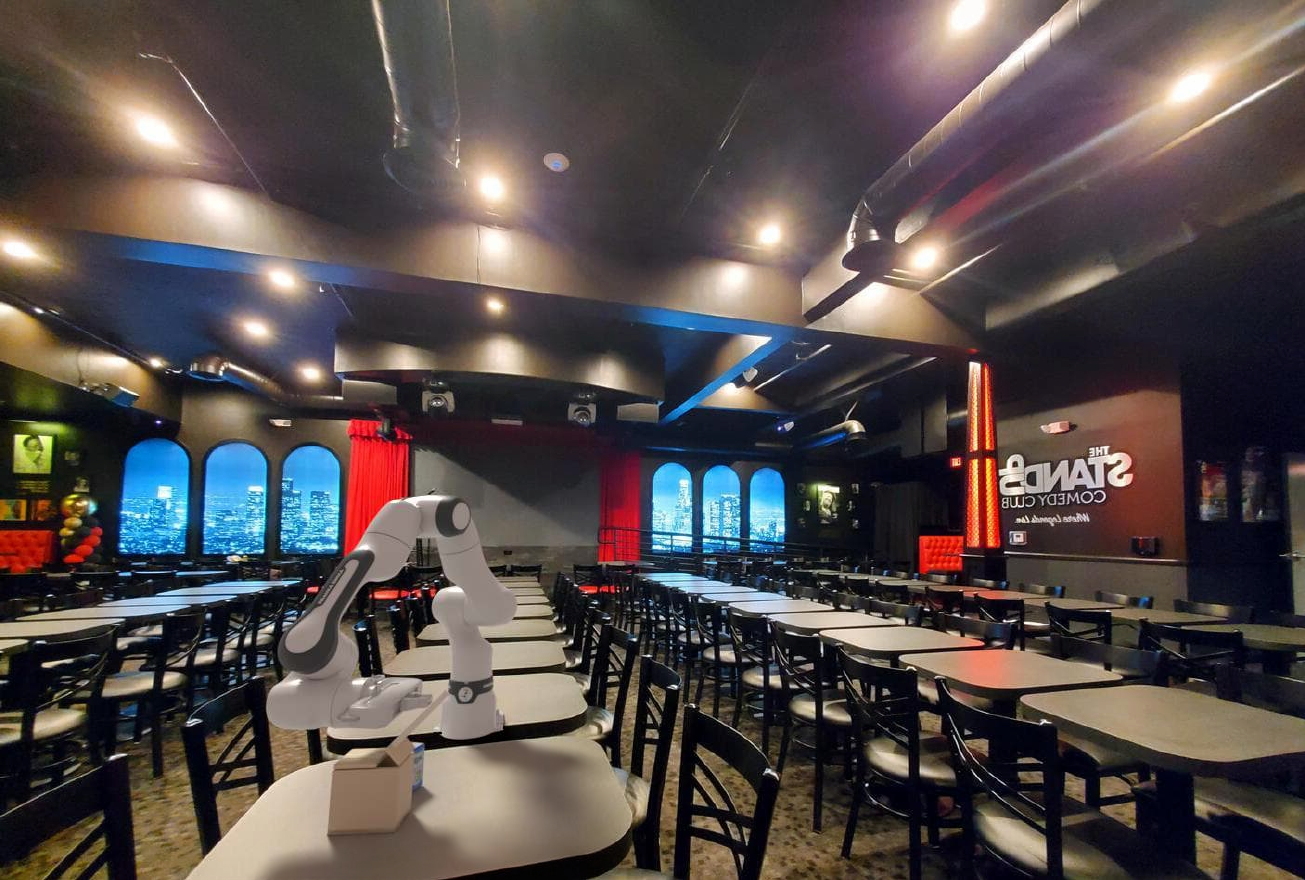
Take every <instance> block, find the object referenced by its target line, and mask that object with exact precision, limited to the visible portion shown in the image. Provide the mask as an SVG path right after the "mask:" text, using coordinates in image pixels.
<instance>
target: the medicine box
mask: <svg viewBox="0 0 1305 880" xmlns="http://www.w3.org/2000/svg"><path fill="white" fill-rule="evenodd" d="M410 742H411V743H412V744H413V745H414V746H415V749H414V750H413V751H412V752H414V765H413V782H412V793H413V792H415V791H416V790H418V789H419V788H420V787H421V786H423V782H424V781H423V779H424V762H425V761H424V760H425V759H424V757H425V743H424V742H417V741H415V742H414V741H410Z"/></svg>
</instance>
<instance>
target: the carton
mask: <svg viewBox="0 0 1305 880" xmlns="http://www.w3.org/2000/svg"><path fill="white" fill-rule="evenodd" d="M386 748H387V747H378V748H352V749H351V750H349V751H348V752H347V753H346V754H345V755H344V756H342V757H341V758H340V759H339V760H338V761H337V762H335V763H334V764H333V768H332V769H333V770H332V773H331V774H332V776H331V784H330V785H331V786H330V798H329V800H330V801H329V810H328V824H327V834H326V835H327V836H343V835H344V836H345V835H362V834H363V835H366V834H386V833H387V834H388V833H396V832H397V830H399V828H400V826H401V825H402V823H404V820H405V819H406V818H407V816H408V815H409V814H410V812H411V810H412V798H413V797H412V796H413V792H412V782H413V765H414V752H411V753H410V754H409V755H408V756H407V758H406V759H405V760H404V761H403V762H402V763H401V764H400V765H399V766H398V765H397V764H396V763H395V761H394V760H393V759H392V758H391V757H390V756H389V755H388V754H387V752H386V751H385V749H386Z"/></svg>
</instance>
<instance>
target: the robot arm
mask: <svg viewBox="0 0 1305 880" xmlns="http://www.w3.org/2000/svg"><path fill="white" fill-rule="evenodd" d="M434 538H435V541H436V545H437V551H438V553H439V554H438V555H439V559H440V561H441V566H442V569H443V573H444V575H445V577H446V579H447V580H449V581H450V582H452V583H453V584H455V585H454V586H448V587H444V588H442V589H440V590H439V591H437V593H436V594H435V596H434V598H433V600H432V603H431V604H432V605H431V612H432V615H433V618H435V620H436V621H438V623H440V625H441V627H443V630H444V631H445V633H446V636H447V639H448V642H449V645H450V678H448V683H447V689H448V690H447V692H448V693H449V694H450V695H449V696H448V697H447V698H446V699H445V700H444V701H443V702H442V703H441V709H440V719H439V724H438V725H436V726H435V727H434V728H433V731H434V730H440V731H441V732H442V734H440V736H442V737H443V738H445V739H450V740H469V739H477V738H480V737H485V736H487V735H490V734H491V733H495V732H500V731H503V730H504V729H503V723H504V711H503V710H502V709H497V694H496V693H495V691H494V683H495V681H494V675H493V674H494V673H493V653H494V651H493V646H492V644H491V643H490V642H489V641H488V640H487V639H485V638H484V637H483V635H482V634H481V631H480V629H479V627H487V628H488V627H489V628H490V627H491V628H492V627H493V628H494V627H499V626H504V625H508V624H510V622H511V621H512V620H513V619H514V617H515V615H516V613H517V611H518V600H517V597H516V595H515V593H514V591H513V590H511V589H510V588H508V587H505V586H504V584H502V583H501V582H500V581H499V579H497V578H496V576H495V575H494V574H493V572H492V571H491V569H490V568H489V566H488V564H487V561H486V559H485V556H484V553H483V549H482V548H483V547H482V545H481V541H480V537H479V534H478V530H477V528H476V525H475V522H474V519H473V518H472V514H471V508H470V505H469V504H468V503H467V501H466V500H465V499H464V498H462V497H461V496H456V495H450V494H449V495H441V494H426V495H421V496H420V495H419V496H413V497H412V496H406V497H401V498H399V499H394V500H390V501H388V502H387V503H385V504H384V506H383V507H381V509H380V510H379V511H378V512H377V514H376V515H375V516H374V517H373V519H372V520H371V522H370V523H369V525H368V527H367V528H366V530H365V531H364V534H363V535H362V537H361V539H360V540H359V542H358V544H357V545H356V547H355V548H354V549H353V550H352V551H350V552H349V553H348V554H346V556H344V557H343V558H342V560H341V561H340V562H339V563H338V565H337V567H336V568H334V570H333V572H332V573H331V574H330V576H329V578H328V579H327V580H326V582H325V583H324V584H323V586H322V588H321V590H319V592H318V594H317V595H316V596H315V598H314V599H313V601H312V602H311V603H310V605H309V606H308V607H307V609H306V610H304V612H303V613H302V614H301V615H300V616H299V617H297V619H296V620H295V621H294V622H293V623H292V624H291V625H289V626H288V628H287V629H286V630H285V631H284V633H283V634H282V636H281V638H280V640H279V643H278V646H277V659H278V661H279V663H280V665H282V666H283V668H285V669H286V670H288V671H291V672H290V673H289V674H288V675H286V677H285V678H284V679H283V680H282V681H280V682H279V683H277V684H276V685H275V684H274V686H273V687H272V688H271V689H270V690H269V693H268V696H267V699H266V702H265V703H266V704H265V710H266V715H267V719H268V721H270V723H271V724H272V725H273V726H274V727H277V728H280V729H284V730H285V729H287V730H316V729H320V728H322V727H323V728H324V727H325V728H326V727H327V728H331V729H335V730H336V729H367V730H369V729H370V730H371V729H372V730H373V729H375V730H376V729H383V728H386V727H387V726H389V724H391V723H392V722H393V721H395V719H396V718H398V717H399V716H400V715H401V714H402V713H403V712H408V711H413V710H417V709H427V708H428V707H429V706H430V705H431V704H432V703H433V697H434V696H433V694H431V693H423V680H422V679H419V678H415V677H396V676H395V677H385V675H384V674H377V675H373V676H370V677H369V676H368V677H358V678H353V675H354V674H355V671H356V668H357V665H358V663H359V658H360V651H359V648H358V646H357V644H356V643H355V642H354V641H353V640H352V639H351V638H350V637H349V636H347V635H346V634H345V633H344V632H343V631H341V629H340V628H341V627H340V626H341V625H340V624H341V620H342V618H343V616H344V615H345V613H346V611H347V610H348V608H349V606H350V605H351V603H352V602H353V600H354V598H355V597H356V595H357V594H358V592H359V591H360V589H361V588H362V587H363V586H364V585H365V584H367V583H368V582H375V583H379V582H384V581H388V580H391V579H393V578H394V577H396V576H397V575H398V574H399V573H400V571H401V570H402V569H403V567H404V566H405V564H406V562H407V561H408V558H409V557H410V554H411V551H412V550H413V548H414V546H415V543H416V540H417V539H434ZM499 724H500V725H499Z"/></svg>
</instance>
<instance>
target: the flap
mask: <svg viewBox="0 0 1305 880" xmlns="http://www.w3.org/2000/svg"><path fill="white" fill-rule="evenodd" d="M449 695H450V694H449V693H448V690H444V691H443V692H442V693H441V694H440V695H439V696H438V697H437V698H435V700H434V701H432V703H431V704H430V705H429V706H428V707H426V708H425V710H424V711H422V712H421V714H419V715H418V717H416V719H414V720H413V721H412V722H411V723H410V724H409V726H407V727H406V728H405V730H403V731H402V732H401V733H400V734H399V735H398V736H396V738H395V739H394V740H393V741H391V743H390V744H389V745H388V746H387V747H385V748H386V749H385V751H386V752H387V754H388V755H389V756H390V757H391V758H392V759H393V760H394V761H395V763H396V764H397V765H398V766H399V765H400V764H401V763H402V762H403V761H404V760H405V759H406V758H407V756H408V755H409V754H410V753H411V752H412V751H413V750H414V749H415V746H414V745H413V744H412V743H411V742H412V741H410V740H409V738H408V736H410V734H411V733H412V732H413V731H414V730H416V729H417V727H418V726H419V725H421V724H422V723H423V722H424V720H425V719H427V717H428V716H430V715H431V714H432V713H433V712H434V710H436V709H437V708H438V707H439V705H442V702H443V701H444V700H445V699H446V698H447V697H448V696H449Z"/></svg>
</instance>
